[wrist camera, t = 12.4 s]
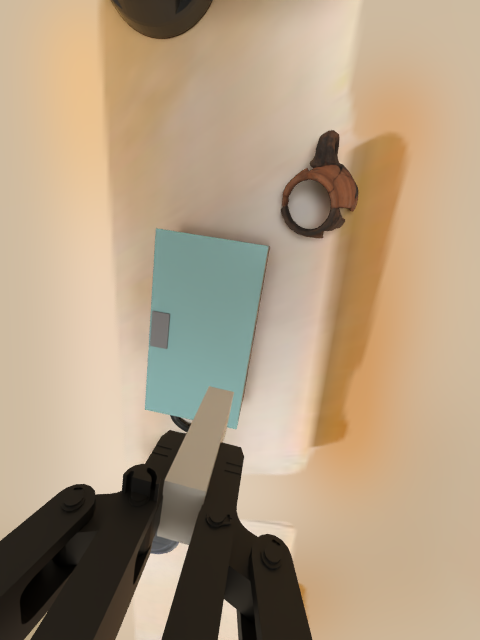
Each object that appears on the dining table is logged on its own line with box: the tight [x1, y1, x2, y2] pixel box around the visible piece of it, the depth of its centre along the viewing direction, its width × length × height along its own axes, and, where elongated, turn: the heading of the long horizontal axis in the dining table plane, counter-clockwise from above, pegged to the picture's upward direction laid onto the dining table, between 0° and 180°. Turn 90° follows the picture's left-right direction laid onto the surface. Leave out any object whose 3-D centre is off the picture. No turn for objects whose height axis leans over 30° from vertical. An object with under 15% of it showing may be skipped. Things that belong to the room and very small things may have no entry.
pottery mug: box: [281, 130, 358, 238], centre depth 35 cm, size 12×10×8 cm
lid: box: [145, 228, 269, 429], centre depth 36 cm, size 26×14×2 cm, turn 171°
